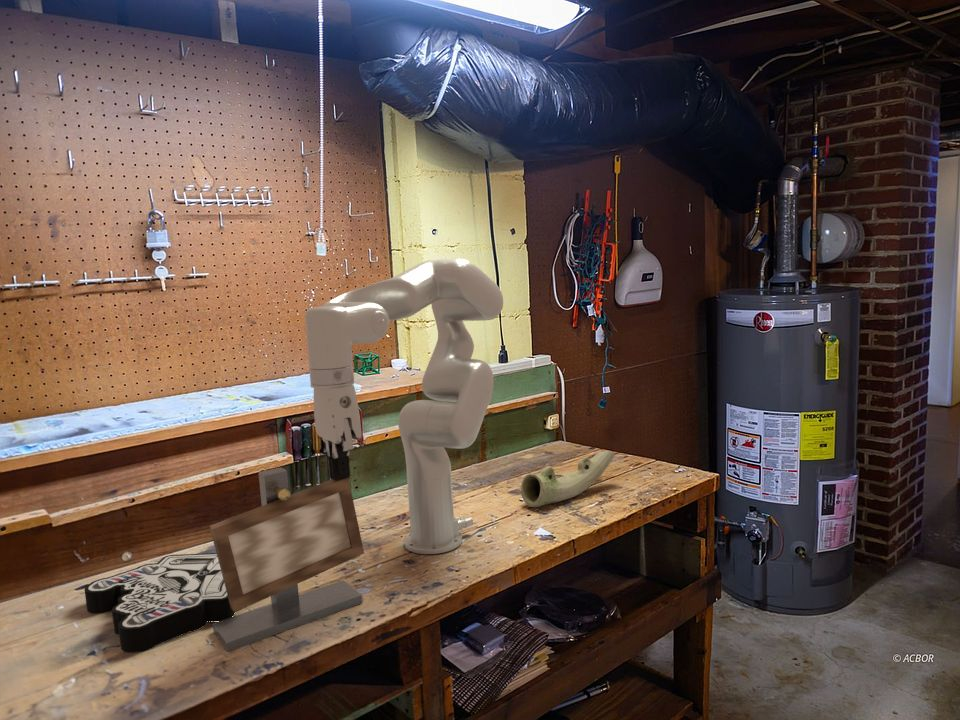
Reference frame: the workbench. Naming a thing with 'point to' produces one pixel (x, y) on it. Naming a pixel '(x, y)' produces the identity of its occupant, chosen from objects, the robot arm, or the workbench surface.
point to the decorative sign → (161, 599)
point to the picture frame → (286, 542)
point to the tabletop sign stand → (288, 603)
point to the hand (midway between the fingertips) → (340, 477)
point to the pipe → (563, 481)
